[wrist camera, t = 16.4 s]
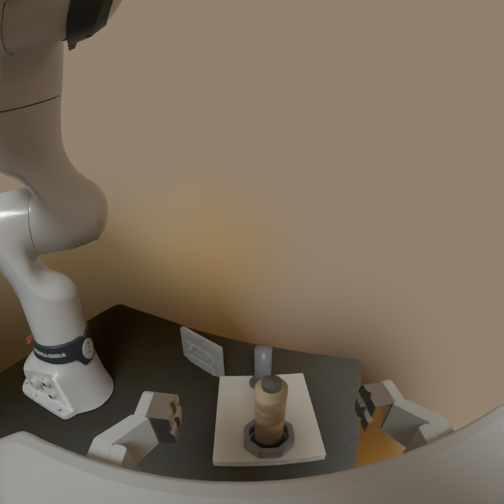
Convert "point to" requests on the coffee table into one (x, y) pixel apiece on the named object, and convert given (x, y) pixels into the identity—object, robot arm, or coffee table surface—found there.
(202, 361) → the cassette
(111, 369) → the coffee table surface
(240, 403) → the plate
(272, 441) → the wooden leg
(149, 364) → the coffee table surface
